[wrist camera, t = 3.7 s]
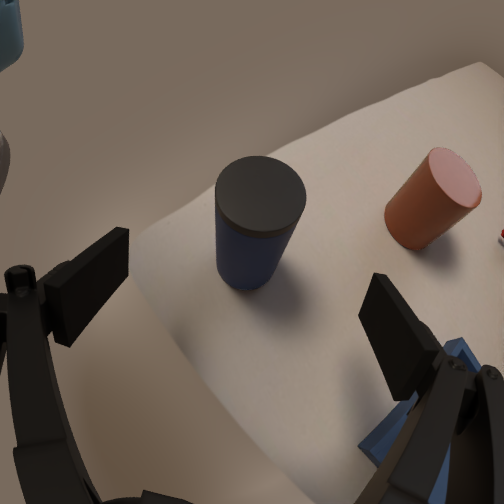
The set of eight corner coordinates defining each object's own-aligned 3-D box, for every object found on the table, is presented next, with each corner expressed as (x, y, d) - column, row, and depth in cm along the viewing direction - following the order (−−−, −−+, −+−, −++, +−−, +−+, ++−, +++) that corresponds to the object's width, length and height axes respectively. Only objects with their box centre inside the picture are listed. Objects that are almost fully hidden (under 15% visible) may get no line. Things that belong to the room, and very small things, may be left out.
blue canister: (211, 284, 25) (205, 222, 15) (222, 230, 27) (224, 149, 17) (271, 294, 25) (303, 239, 16) (278, 240, 27) (308, 164, 18)
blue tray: (357, 445, 21) (369, 450, 19) (447, 340, 25) (462, 336, 23) (444, 534, 16) (456, 540, 14) (511, 445, 20) (525, 445, 18)
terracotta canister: (385, 244, 28) (435, 196, 20) (382, 191, 31) (421, 138, 23) (434, 255, 29) (488, 215, 20) (428, 204, 31) (472, 159, 23)
